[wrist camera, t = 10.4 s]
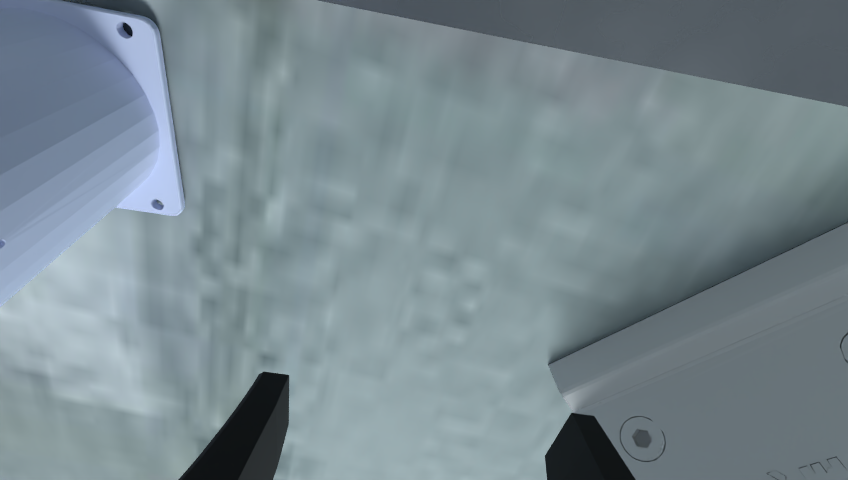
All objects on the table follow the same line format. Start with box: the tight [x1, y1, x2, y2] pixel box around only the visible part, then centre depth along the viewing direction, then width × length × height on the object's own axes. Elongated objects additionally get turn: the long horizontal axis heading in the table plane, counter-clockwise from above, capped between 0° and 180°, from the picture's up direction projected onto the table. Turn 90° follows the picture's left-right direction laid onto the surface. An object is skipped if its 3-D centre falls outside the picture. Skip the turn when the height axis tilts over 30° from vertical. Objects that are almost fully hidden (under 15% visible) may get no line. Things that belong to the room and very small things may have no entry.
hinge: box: [548, 223, 848, 480], centre depth 22 cm, size 17×5×10 cm, turn 129°
